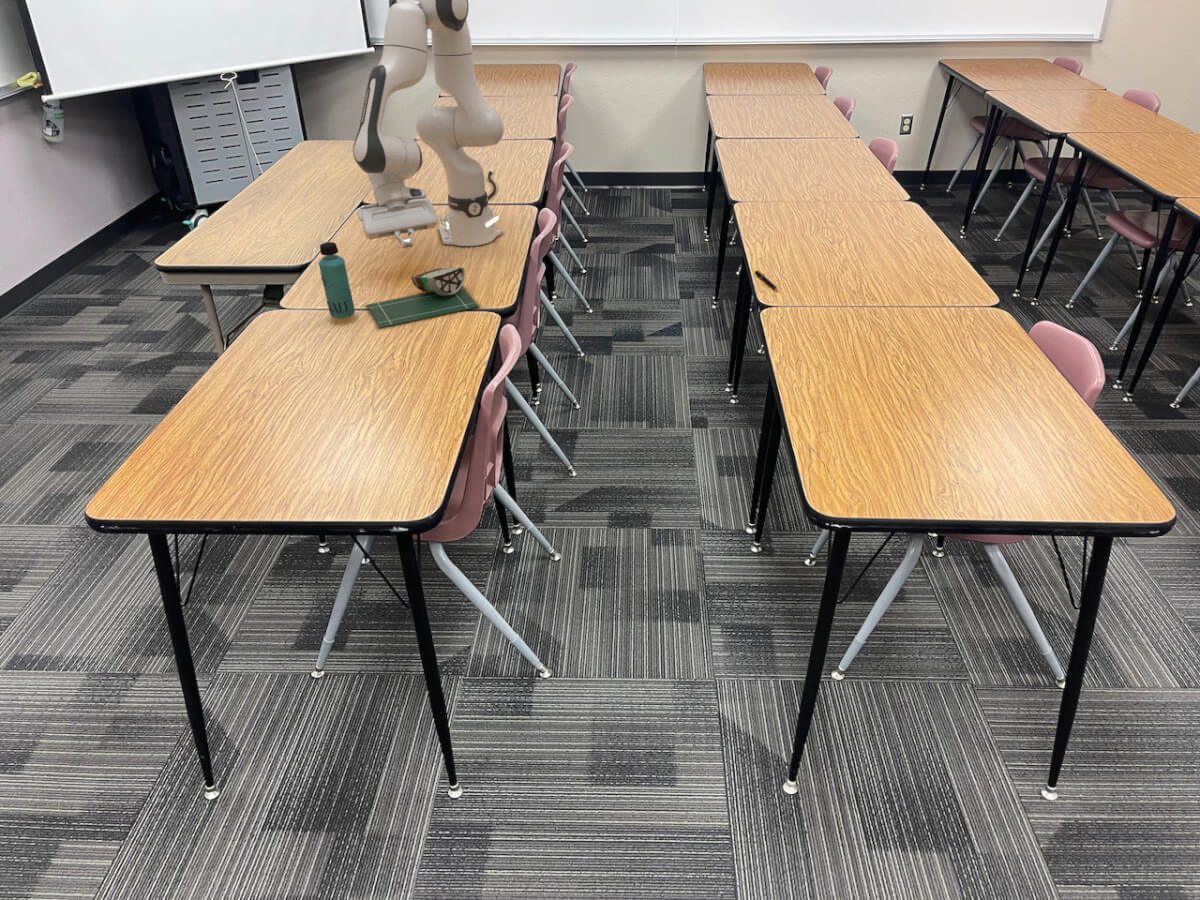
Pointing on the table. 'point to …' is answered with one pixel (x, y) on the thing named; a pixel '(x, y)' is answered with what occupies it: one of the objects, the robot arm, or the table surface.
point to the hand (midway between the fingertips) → (408, 246)
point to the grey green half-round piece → (440, 280)
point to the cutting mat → (419, 307)
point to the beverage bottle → (335, 282)
